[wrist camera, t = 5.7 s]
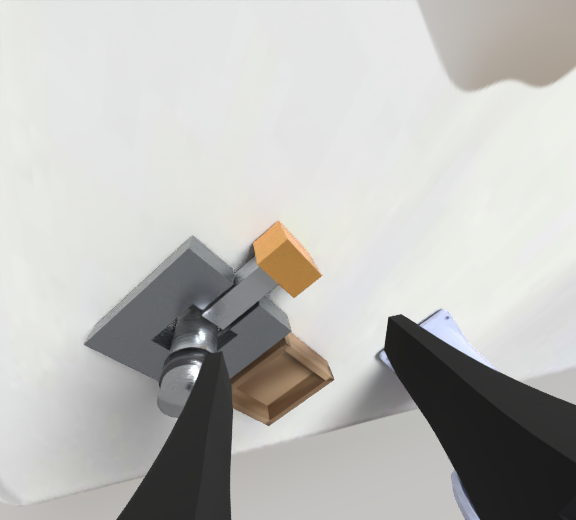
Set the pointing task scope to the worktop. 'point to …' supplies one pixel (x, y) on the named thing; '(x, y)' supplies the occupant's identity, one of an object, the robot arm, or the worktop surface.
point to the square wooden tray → (279, 380)
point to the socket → (173, 302)
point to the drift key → (265, 275)
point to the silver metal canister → (185, 359)
